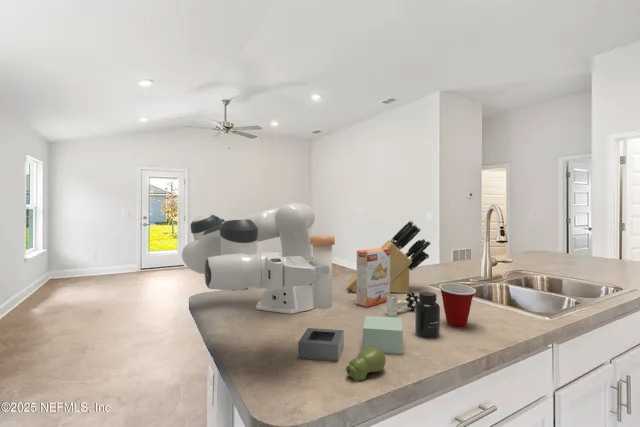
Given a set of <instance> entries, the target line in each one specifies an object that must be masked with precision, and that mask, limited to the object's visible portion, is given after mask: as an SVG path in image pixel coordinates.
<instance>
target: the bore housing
mask: <svg viewBox="0 0 640 427" xmlns="http://www.w3.org/2000/svg"><path fill="white" fill-rule="evenodd" d="M344 332H345V330H344V329H343V330H342V329H332V328H331V329H329V328H313V327H312V328H311V327H308V328H307V329H306V330H305V331H304V333H303V335H302V336H301V338H300V339H299V341H298V343H297V344H298V345H297V347H298V350H297V351H298V354H297V356H298V359H304V358H306V359H305V360H316V359H318V360H317V361H327V360H328V362H330V361H331V362H339V360H340V357H341V355H340V354H342V352H343V348H344V346H345V339H344V338H345V336H344V335H345V333H344Z"/></svg>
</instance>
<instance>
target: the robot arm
mask: <svg viewBox="0 0 640 427" xmlns="http://www.w3.org/2000/svg"><path fill="white" fill-rule="evenodd" d="M315 219H316V214H315V211H314V210H313V208H312V207H311V206H310V205H308V204H307V203H302V202H288V203H285V204H283V205H282V206H281V207H277V208H272V209H266V210H262V211H259V212H255V213H250V214H247V215H244V216H240V217H235V218H231V219H228V220H225V219H224V218H220V217H219V216H217V215H214V214H203V215H200V216H198V217H196V218H195V219H194V220H192V221H191V223H190V233H191V234H192V237H193V240H191V241H190V242H188V243H187V244H186V245H185V246H184V248H183V249H182V252H181V257H182V258H181V259H182V261H183V263H184V264H185V266H187V268H188V269H190V270H192V271H193V272H195V273H198V274H203V275H204V278H205V279H204V281H205V285H206V287H207V289H209V290H220V291H245V290H248V289H251V288H255V289H258V290H259V289H264V290H263V292H262V298H261V300H259V301H258V302H257V303H256V305H255V309H256V310H258V311H259V310H260V311H266V312H267V311H268V312H272V313H273V312H274V313H281V314H289V315H290V314H292V315H293V314H297V313H299V312H300V313H301V312H305V311H306V312H307V311H310V310H311V311H312V310H314V309H316V308H315V307H313V283H315V282H316V276H318V275H321V274H328V273H329V272H330V268H329V267H328V266H318V267H316V266H313V248H312V245H310V236H309V232H308V231H309V229H310V228H312V226H313V225H314V224H315ZM275 238H280V239H279V240H280V244H281V245H280V246H281V256H280V253H279V251H272V252H271V251H268V252H258V243H260V242H264V241H267V240H272V239H275Z"/></svg>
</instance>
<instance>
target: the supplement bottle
mask: <svg viewBox="0 0 640 427" xmlns="http://www.w3.org/2000/svg"><path fill="white" fill-rule="evenodd" d="M418 297H419V298H418V302H417V303H416V302H415V304H416V306H415V305H414V306H415V310H414V312H415V316H414V318H415V319H414V320H415V321H414V322H415V325H414V328H415V329H414V330H415V331H414V332H415V334H416V335H417V336H419V337H422V338H426V339H436V338H438V337H439V336H440V334H441V333H440V331H441V330H440V329H441V328H440V326H441V325H440V322H441V321H440V320H441V310H440V309H441V308H440V305H439V304H438V302H437V293H436V292H435V293H434V292H431V291H420V292H418Z"/></svg>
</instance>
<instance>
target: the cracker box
mask: <svg viewBox="0 0 640 427" xmlns="http://www.w3.org/2000/svg"><path fill="white" fill-rule="evenodd" d="M356 272H357V293H356V305H359V306H361V307H366V308H369V307H372V306H375V305H380V304H382V303H386V302H387V295H391V292H390V249H388V248H381V247H375V248H367V249H360V250H359V249H358V250H356Z"/></svg>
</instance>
